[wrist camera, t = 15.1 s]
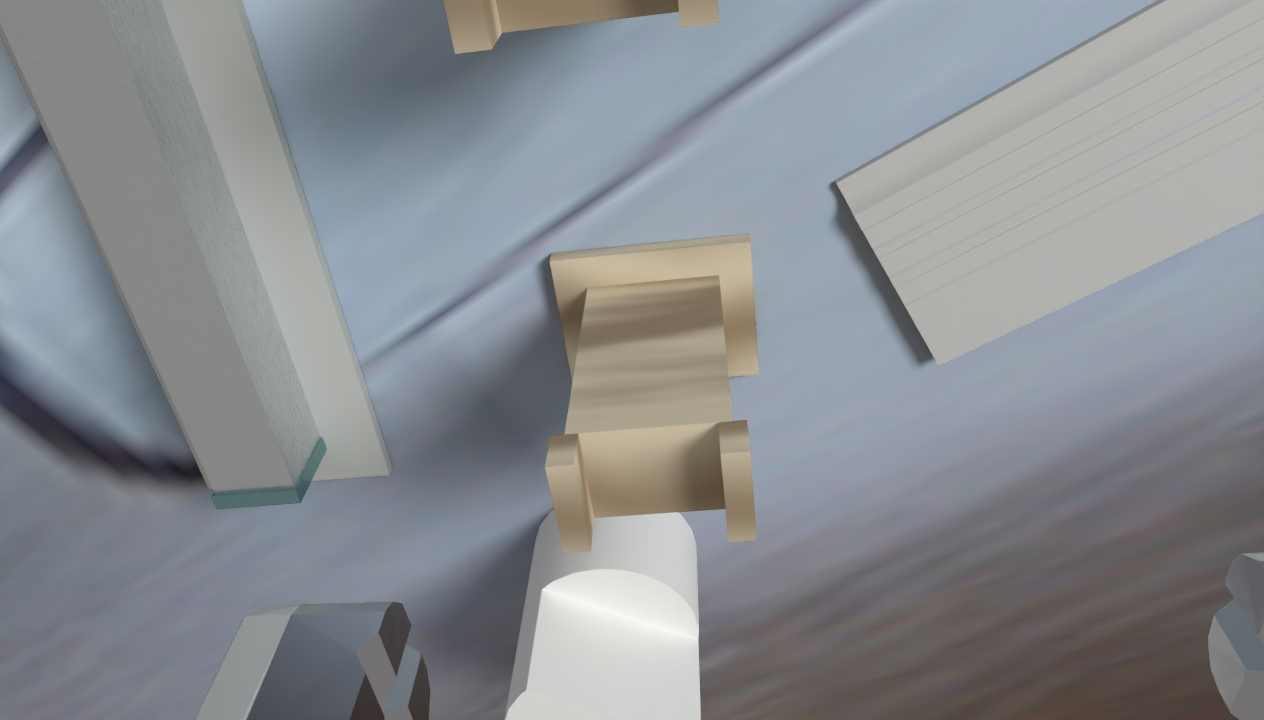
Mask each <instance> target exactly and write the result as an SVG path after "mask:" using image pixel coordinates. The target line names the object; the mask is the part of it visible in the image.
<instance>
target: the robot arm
mask: <svg viewBox="0 0 1264 720" xmlns="http://www.w3.org/2000/svg"><path fill="white" fill-rule="evenodd" d="M1224 583H1225V584H1226V586H1227V588H1228V589H1229V591H1230V592H1231V594H1232V596H1233V597H1234V600H1233V601H1232V602H1230V603H1229V604H1228V605H1226V606H1225V607H1224V608H1223V609H1221V610H1220V611H1219V612H1218V613H1216V614H1215V615H1214V618H1213V622H1212V626H1211V630H1210V634H1209V638H1208V645H1209V655H1210V665H1211V670H1212V673H1213V675H1214V678H1215V681H1216V684H1217V687H1218V690H1219V692H1220V694H1221V696H1222V697H1223V699H1224V701H1225V703H1226V705H1227V707H1228V709H1229V710H1230V712H1231V714H1233V715H1234V716H1235V717H1237V718H1238V719H1240V720H1264V552H1263V553H1248V554H1241V555H1240V556H1239V557H1237V558H1236V559H1235V560H1234V561H1233V562H1232V563H1231V565H1230V568H1229V571H1228V574H1227V577H1226V580H1225V582H1224ZM410 627H411V624H410V621H409V619H408V616H407V614H406V612H405V609H404V607H403V604H402V603H398V602H363V603H328V604H302V605H284V606H256V607H255V608H254V609H253V610H252V611H251V612H250V613H249V614H247V615H246V616H245V617H244V619H243V620H242V622H241V624H240V626H239V628H238V630H237V633H236V635H235V637H234V639H233V641H232V643H231V645H230V647H229V649H228V651H227V653H226V655H225V657H224V659H223V661H222V663H221V666H220V668H219V670H218V672H217V674H216V676H215V678H214V680H213V682H212V684H211V686H210V688H209V690H208V692H207V694H206V696H205V699H204V701H203V703H202V705H201V707H200V709H199V711H198V713H197V715H196V717H195V719H194V720H429V701H430V687H429V680H428V673H427V668H426V666H425V663H424V660H423V657H422V654H421V653H419V652H418V651H417V650H415V649H414V648H412V647H411V646H409V645H408V644H407V643H406V641H407V638H408V634H409V631H410Z"/></svg>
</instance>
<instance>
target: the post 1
mask: <svg viewBox="0 0 1264 720" xmlns="http://www.w3.org/2000/svg"><path fill="white" fill-rule="evenodd" d="M443 1H444V6H445V10H446V15H447V19H448V24H449V29H450V33H451V38H452V42H453V47H454V52H455V54H459V53H467V52H476V51H484V50H492V49H493V47H494V45H495V44H496V42H497V40H498V39H499V37H500V35H501V34H502V33H505V32H514V31H522V30H530V29H539V28H547V27H555V26H564V25H572V24H580V23H588V22H597V21H605V20H613V19H622V18H630V17H638V16H647V15H655V14H663V13H672V12H679V17H680V27H686V26H695V25H703V24H711V23H719V16H718V2H717V0H443Z"/></svg>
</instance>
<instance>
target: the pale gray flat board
mask: <svg viewBox="0 0 1264 720" xmlns="http://www.w3.org/2000/svg"><path fill="white" fill-rule="evenodd" d="M160 1H161V3H162V6H163V9H164V11H165V14H166V17H167V20H168V22H169V25H170V28H171V31H172V33H173V36H174V39H175V41H176V44H177V47H178V50H179V52H180V55H181V58H182V61H183V63H184V66H185V69H186V71H187V74H188V77H189V80H190V82H191V85H192V88H193V91H194V93H195V96H196V99H197V101H198V104H199V107H200V110H201V112H202V115H203V118H204V121H205V123H206V126H207V129H208V131H209V134H210V137H211V140H212V142H213V145H214V148H215V151H216V153H217V156H218V159H219V161H220V164H221V167H222V170H223V172H224V175H225V178H226V181H227V183H228V186H229V189H230V191H231V194H232V197H233V200H234V202H235V205H236V208H237V210H238V213H239V216H240V219H241V221H242V224H243V227H244V230H245V232H246V235H247V238H248V240H249V243H250V246H251V249H252V251H253V254H254V257H255V260H256V262H257V265H258V268H259V270H260V273H261V276H262V279H263V281H264V284H265V287H266V290H267V292H268V295H269V298H270V300H271V303H272V306H273V309H274V311H275V314H276V317H277V320H278V322H279V325H280V328H281V330H282V333H283V336H284V339H285V341H286V344H287V347H288V350H289V352H290V355H291V358H292V360H293V363H294V366H295V369H296V371H297V374H298V377H299V380H300V382H301V385H302V388H303V390H304V393H305V396H306V399H307V401H308V404H309V407H310V410H311V412H312V415H313V418H314V420H315V423H316V426H317V429H318V431H319V434H320V437H323V440H324V442H325V445H326V448H327V451H326V453H325V455H324V457H323V459H322V461H321V463H320V465H319V467H318V469H317V471H316V473H315V475H314V477H313V479H312V481H319V480H332V479H345V478H358V477H371V476H384V475H390V473H391V471H392V468H393V467H392V464H391V461H390V458H389V455H388V452H387V449H386V446H385V443H384V440H383V437H382V434H381V430H380V427H379V424H378V421H377V418H376V415H375V412H374V409H373V406H372V403H371V400H370V397H369V393H368V390H367V387H366V384H365V381H364V378H363V375H362V372H361V369H360V366H359V363H358V360H357V356H356V353H355V350H354V347H353V344H352V341H351V338H350V335H349V332H348V329H347V326H346V323H345V319H344V316H343V313H342V310H341V307H340V304H339V301H338V298H337V295H336V292H335V289H334V286H333V282H332V279H331V276H330V273H329V270H328V267H327V264H326V261H325V258H324V255H323V252H322V249H321V245H320V242H319V239H318V236H317V233H316V230H315V227H314V224H313V221H312V218H311V215H310V212H309V208H308V205H307V202H306V199H305V196H304V193H303V190H302V187H301V184H300V181H299V178H298V175H297V171H296V168H295V165H294V162H293V159H292V156H291V153H290V150H289V147H288V144H287V141H286V138H285V134H284V131H283V128H282V125H281V122H280V119H279V116H278V113H277V110H276V107H275V104H274V101H273V97H272V94H271V91H270V88H269V85H268V82H267V79H266V76H265V73H264V70H263V67H262V64H261V60H260V57H259V54H258V51H257V48H256V45H255V42H254V39H253V36H252V33H251V30H250V27H249V23H248V20H247V17H246V14H245V11H244V8H243V5H242V2H241V0H160ZM0 36H1V39H2V41H3V43H4V45H5V47H6V49H7V52H8V54H9V56H10V58H11V60H12V62H13V65H14V67H15V69H16V71H17V73H18V76H19V78H20V80H21V82H22V84H23V86H24V89H25V91H26V93H27V95H28V97H29V99H30V102H31V104H32V106H33V108H34V110H35V112H36V115H37V117H38V119H39V121H40V123H41V126H42V128H43V130H44V132H45V134H46V136H47V139H48V141H49V143H50V145H51V147H52V149H53V152H54V154H55V156H56V158H57V160H58V162H59V165H60V167H61V169H62V171H63V173H64V176H65V178H66V180H67V182H68V184H69V186H70V189H71V191H72V193H73V195H74V197H75V199H76V202H77V204H78V206H79V208H80V210H81V212H82V215H83V217H84V219H85V221H86V223H87V226H88V228H89V230H90V232H91V234H92V236H93V239H94V241H95V243H96V245H97V247H98V249H99V252H100V254H101V256H102V258H103V260H104V262H105V265H106V267H107V269H108V271H109V273H110V276H111V278H112V280H113V282H114V284H115V286H116V289H117V291H118V293H119V295H120V297H121V299H122V302H123V304H124V306H125V308H126V310H127V312H128V315H129V317H130V319H131V321H132V323H133V326H134V328H135V330H136V332H137V334H138V336H139V339H140V341H141V343H142V345H143V347H144V349H145V352H146V354H147V356H148V358H149V360H150V363H151V365H152V367H153V369H154V371H155V373H156V376H157V378H158V380H159V382H160V384H161V386H162V389H163V391H164V393H165V395H166V397H167V399H168V402H169V404H170V406H171V408H172V410H173V413H174V415H175V417H176V419H177V421H178V423H179V426H180V428H181V430H182V432H183V434H184V436H185V439H186V441H187V443H188V445H189V447H190V449H191V452H192V454H193V456H194V458H195V460H196V463H197V465H198V467H199V469H200V471H201V473H202V476H203V478H204V480H205V482H206V484H207V486H208V489H213V488H212V486H211V484H210V482H209V479H208V477H207V475H206V473H205V471H204V469H203V466H202V464H201V462H200V460H199V458H198V455H197V453H196V451H195V449H194V447H193V444H192V442H191V440H190V438H189V436H188V433H187V431H186V429H185V427H184V425H183V423H182V420H181V418H180V416H179V414H178V412H177V409H176V407H175V405H174V403H173V401H172V398H171V396H170V394H169V392H168V390H167V388H166V385H165V383H164V381H163V379H162V377H161V374H160V372H159V370H158V368H157V366H156V363H155V361H154V359H153V357H152V355H151V353H150V350H149V348H148V346H147V344H146V342H145V339H144V337H143V335H142V333H141V331H140V328H139V326H138V324H137V322H136V320H135V317H134V315H133V313H132V311H131V309H130V307H129V304H128V302H127V300H126V298H125V296H124V293H123V291H122V289H121V287H120V285H119V282H118V280H117V278H116V276H115V274H114V272H113V269H112V267H111V265H110V263H109V261H108V258H107V256H106V254H105V252H104V250H103V247H102V245H101V243H100V241H99V239H98V237H97V234H96V232H95V230H94V228H93V226H92V223H91V221H90V219H89V217H88V215H87V212H86V210H85V208H84V206H83V204H82V201H81V199H80V197H79V195H78V193H77V191H76V188H75V186H74V184H73V182H72V180H71V177H70V175H69V173H68V171H67V169H66V166H65V164H64V162H63V160H62V158H61V156H60V153H59V151H58V149H57V147H56V145H55V142H54V140H53V138H52V136H51V134H50V131H49V129H48V127H47V125H46V123H45V121H44V118H43V116H42V114H41V112H40V110H39V107H38V105H37V103H36V101H35V99H34V96H33V94H32V92H31V90H30V88H29V85H28V83H27V81H26V79H25V77H24V75H23V72H22V70H21V68H20V66H19V64H18V61H17V59H16V57H15V55H14V53H13V50H12V48H11V46H10V44H9V42H8V40H7V37H6V35H5V33H4V31H3V29H2V26H1V24H0Z"/></svg>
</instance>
